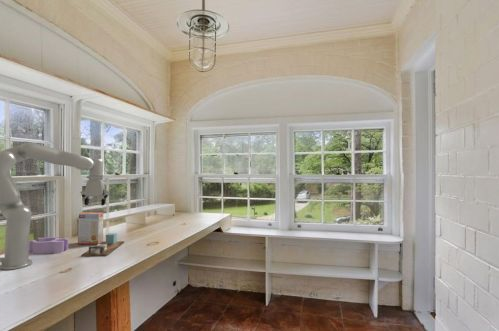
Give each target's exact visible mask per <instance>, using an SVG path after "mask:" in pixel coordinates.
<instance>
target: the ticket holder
mask: <svg viewBox="0 0 499 331" xmlns="http://www.w3.org/2000/svg"><path fill="white" fill-rule="evenodd" d="M123 244H125V241H122V240H118V241H117V242H116V243H114V244H106V240H105V241H104V240H103V242H101V243H100V244H98V245H89V246H88V250H87V251H85V252H83V253H82V254H81V257H108V256H109V255H110V254H112V253H113V252H114V251H115V250H116V249H118V248H119V247H121V246H122V245H123Z"/></svg>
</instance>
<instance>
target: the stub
mask: <svg viewBox="0 0 499 331" xmlns="http://www.w3.org/2000/svg"><path fill="white" fill-rule="evenodd" d="M117 238H118V233H117V232H109V233H107V234H105V241H106V244H114V243H116V242H117V240H118V239H117Z"/></svg>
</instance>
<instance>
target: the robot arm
mask: <svg viewBox="0 0 499 331" xmlns="http://www.w3.org/2000/svg"><path fill="white" fill-rule="evenodd" d="M29 159H32V160H35V161H40V162H43V163H48V164H51V165H52V164H53V165H57V166H66V167H72V168H75V169H77V170H80V171H88V174H89V175H87V176H86V179H88V180H86V185H85V188H84V189H83V190H82V191H80V192H79V193H80V195H81V197H82V198H83V199H84V205H85V206H88V205H89V204H90V202H89V201H90V199H89V198H90V197H100V198H101V200H100V202H101V204H100V206H105V204H106V199H107V198H108V197H109V195H110V194H111V192H110V191H109V190H107V189H106V188H105V182H104V180H103V177H104V176H103V175H104V174H103V173H104V159H102V158H90V157H86V156H83V155H79V154H76V153H72V152H68V151H66V150H60V149H57V148H54V147H50V146H47V145H42V144H39V143H35V142H31V141H30V142H25V143H21V144H19V145H16V146H12V147H9V148H6V149H4V150H0V212H1V214H2V216H3V217H4V218H5V220H6V221H5V222H6V225H5V230H4V231H5V233H4V234H5V235H4V237H5V239H4V257H3V256H1V257H0V263H1V264H0V270H3V271H11V270H17V269H23V268H26V267H28V266H30V265H32V264H33V260H32V259H29V257H30V256H29V254H30V252H29V241H30V231H31V222H32V221H31V220H32V211H31V209H30V208H29V207H28V205H27V206H26V205H24V203H23V201H22V199H21V192H20V190H19V188H18V187H17V185H16V183H15V181H14V179H13V177H12V174H11V170H12V167H14V166H15V165H16V164H18V163H21V162H23V161H26V160H29Z"/></svg>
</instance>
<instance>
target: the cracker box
mask: <svg viewBox="0 0 499 331" xmlns="http://www.w3.org/2000/svg"><path fill="white" fill-rule="evenodd" d="M104 216H105V214H104V212H89V211H88V212H84V211H83V212H80V213H78V227H77V228H78V232H77V233H78V234H77V244H78V245H90V246H96V245H98V244H100V243H101V242H103V241H104Z"/></svg>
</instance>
